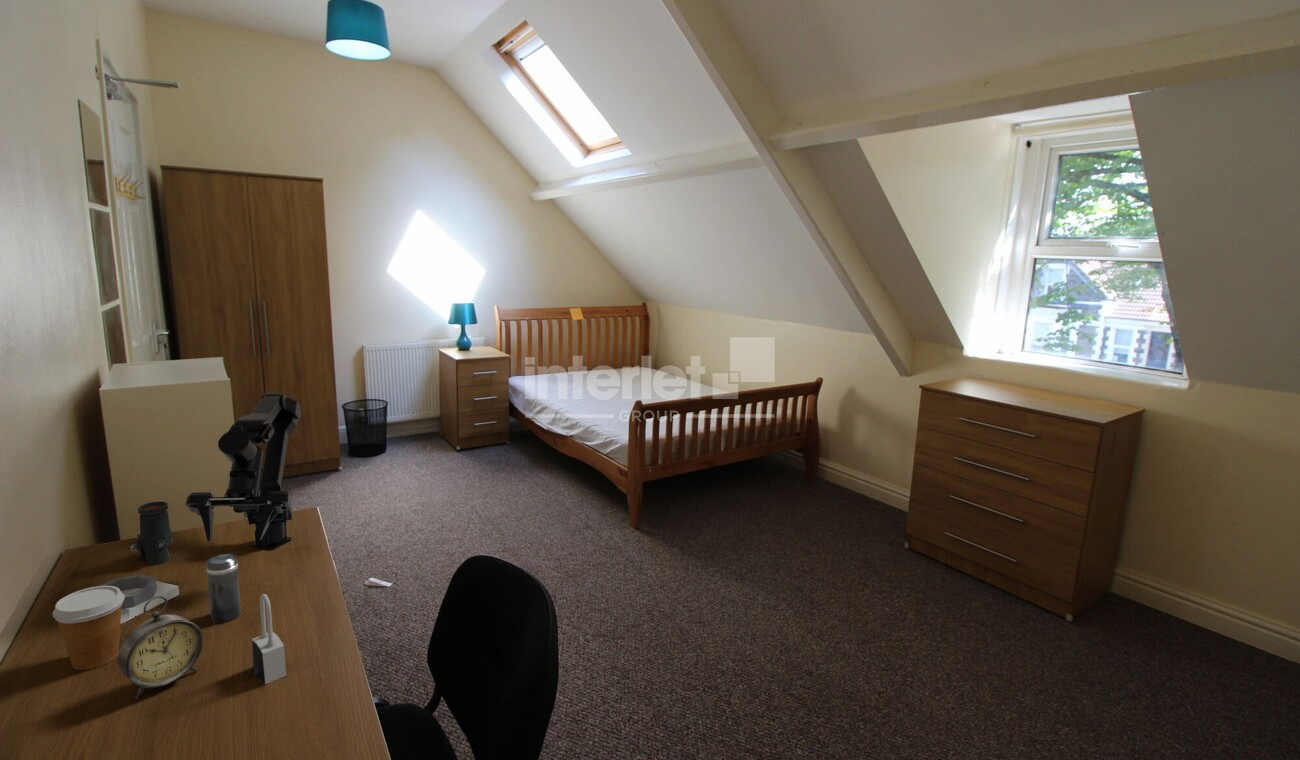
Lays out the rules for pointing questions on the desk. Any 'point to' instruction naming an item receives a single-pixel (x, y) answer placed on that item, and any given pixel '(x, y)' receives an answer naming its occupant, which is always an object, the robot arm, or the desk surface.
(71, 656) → the disposable coffee cup
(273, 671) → the padlock
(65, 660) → the desk surface
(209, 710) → the desk surface
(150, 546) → the scope
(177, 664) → the alarm clock
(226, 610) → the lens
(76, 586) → the desk surface
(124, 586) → the octagonal ring on plate
